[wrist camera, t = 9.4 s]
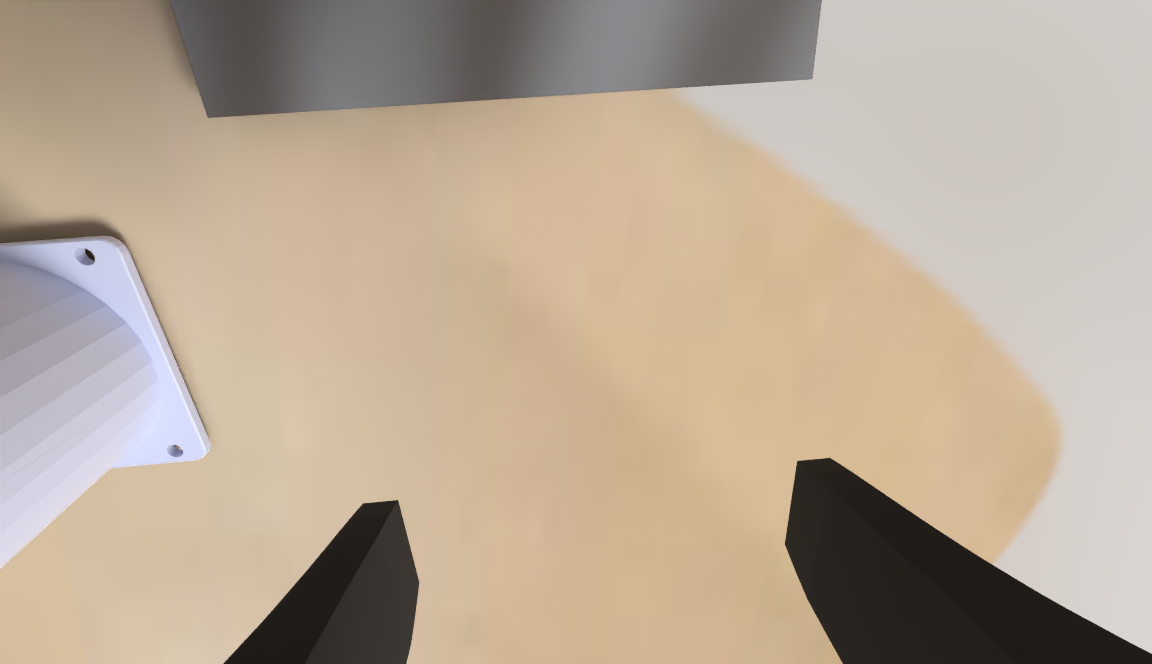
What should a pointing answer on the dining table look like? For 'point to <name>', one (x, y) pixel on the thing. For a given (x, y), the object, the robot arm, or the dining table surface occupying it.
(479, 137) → the dining table surface
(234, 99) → the base
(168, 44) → the dining table surface
